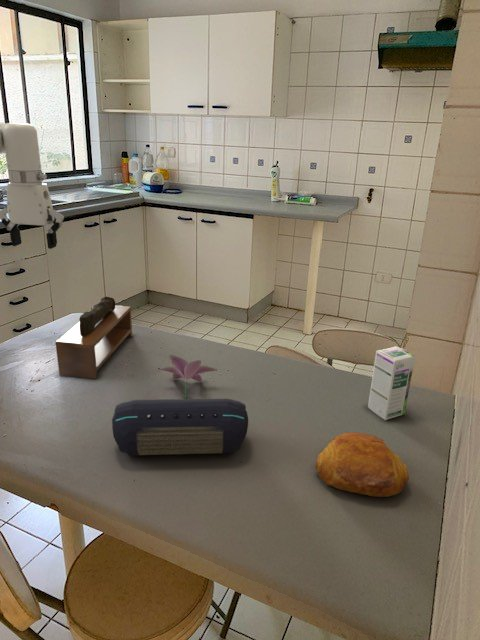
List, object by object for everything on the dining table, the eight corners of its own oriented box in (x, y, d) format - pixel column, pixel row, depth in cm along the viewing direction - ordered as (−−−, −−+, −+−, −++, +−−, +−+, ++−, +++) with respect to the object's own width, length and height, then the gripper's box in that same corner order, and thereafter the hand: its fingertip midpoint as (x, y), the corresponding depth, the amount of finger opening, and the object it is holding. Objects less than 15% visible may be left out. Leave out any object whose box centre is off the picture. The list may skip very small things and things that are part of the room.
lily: (223, 395, 108) (221, 354, 109) (195, 398, 98) (193, 353, 99) (180, 396, 113) (179, 357, 115) (150, 400, 103) (148, 356, 104)
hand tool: (102, 309, 128) (101, 293, 126) (116, 310, 128) (115, 294, 126) (70, 336, 111) (68, 318, 109) (86, 338, 110) (84, 320, 108)
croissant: (401, 522, 76) (417, 486, 72) (308, 490, 79) (320, 454, 75) (398, 464, 89) (412, 431, 85) (319, 438, 91) (329, 406, 88)
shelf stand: (59, 375, 111) (55, 341, 108) (102, 332, 135) (100, 303, 132) (95, 379, 110) (92, 345, 107) (132, 335, 134) (130, 306, 131)
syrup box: (385, 421, 99) (396, 360, 93) (366, 407, 104) (376, 349, 98) (404, 415, 101) (417, 355, 96) (385, 401, 106) (396, 344, 101)
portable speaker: (109, 468, 82) (105, 420, 78) (118, 433, 91) (114, 389, 87) (250, 464, 84) (252, 418, 80) (244, 431, 93) (246, 388, 90)
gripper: (66, 178, 116) (73, 245, 123) (1, 174, 118) (11, 241, 124) (51, 181, 109) (59, 252, 116) (-17, 177, 111) (-6, 247, 118)
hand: (34, 246), depth 120 cm, fingers open, 9 cm apart
